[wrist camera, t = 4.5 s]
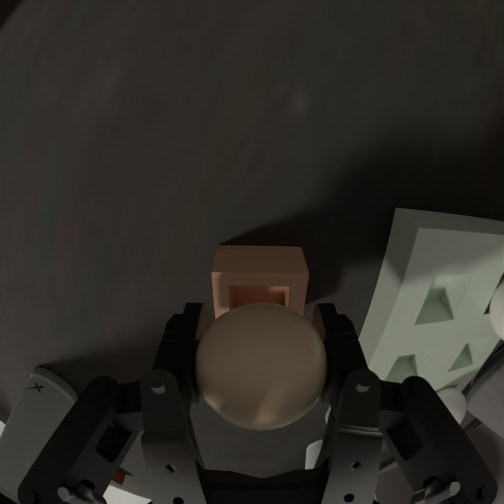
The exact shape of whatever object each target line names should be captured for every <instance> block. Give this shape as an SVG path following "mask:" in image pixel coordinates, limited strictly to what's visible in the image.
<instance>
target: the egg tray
mask: <svg viewBox="0 0 504 504" xmlns="http://www.w3.org/2000/svg"><path fill="white" fill-rule="evenodd" d="M503 278H504V221H498V220H491V219H485V218H478V217H471V216H464V215H456V214H449V213H440V212H432V211H423V210H413V209H403V208H395V213H394V218H393V223H392V227H391V232H390V236H389V241H388V245H387V249H386V253H385V257H384V260H383V264H382V268H381V271H380V275H379V278H378V282H377V285H376V289H375V292H374V295H373V298H372V301H371V305H370V308H369V311H368V314H367V317H366V319H365V322H364V325H363V328H362V331H361V334H360V336H359V339H358V341H359V342H360V345H361V348H362V351H363V353H364V356H365V359H366V362H367V365H368V368H369V370H371V371H373V372H374V373H376V375H377V376H378V377H379V379H381V380H384V381H389V382H397V383H402V382H403V380H404V379H405V378H407V377H409V376H420V377H422V378H424V379H426V380H427V381H428V382H429V384H430V385H431V386H432V388H433V389H434V390H435V391H436V390H440V389H443V388H447V387H453V388H456V389H458V390H459V391H461V392H462V390H463V389H464V388H465V387H466V386H467V384H468V383H469V382H470V381H471V379H472V378H473V377H474V375H475V374H476V373H477V372H478V370H479V369H480V368H481V366H482V365H483V363H484V362H485V361H486V359H487V358H488V356H489V355H490V354H491V352H492V351H493V349H494V348H495V346H496V345H497V343H498V342H499V340H500V337H498V335H497V334H496V333H495V331H494V330H493V327H492V325H491V321H490V315H489V308H490V301H491V298H492V296H493V294H494V292H495V290H496V287H497V285H498V284H499V282H500V281H501V280H502V279H503ZM330 410H331V406H330V407H329V409H328V411H327V413H326V415H325V419H326V425H327V421H328V416H329V412H330Z"/></svg>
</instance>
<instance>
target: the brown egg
mask: <svg viewBox="0 0 504 504" xmlns="http://www.w3.org/2000/svg"><path fill="white" fill-rule="evenodd" d="M327 370H328V360H327V354H326V349H325V346H324V343H323V341H322V339H321V337H320V335H319V333H318V332H317V330H316V329H315V328H314V326H313V325H312V324H311V323H310V322H309V321H308V320H307V319H306V318H305V317H303V316H302V315H301V314H299V313H298V312H296V311H294V310H292V309H290V308H288V307H285V306H283V305H279V304H275V303H267V302H256V303H248V304H244V305H240V306H237V307H235V308H233V309H231V310H229V311H227V312H225V313H223V314H222V315H220V316H219V317H218V318H217V319H216V320H215V321H214V322H212V323H211V325H210V326H209V327H208V328H207V330H206V331H205V332H204V334H203V336H202V337H201V339H200V342H199V344H198V347H197V350H196V354H195V361H194V374H195V380H196V384H197V387H198V389H199V392H200V394H201V396H202V398H203V399H204V401H205V402H206V404H207V405H208V406H209V407H210V408H211V410H212V411H213V412H214V413H215V414H217V415H218V416H219V417H221V418H222V419H223V420H225V421H227V422H229V423H231V424H233V425H235V426H238V427H241V428H245V429H250V430H271V429H276V428H280V427H283V426H286V425H288V424H290V423H292V422H294V421H296V420H298V419H299V418H301V417H302V416H303V415H304V414H306V413H307V412H308V411H309V410H310V409H311V408H312V407H313V405H314V404H315V403H316V402H317V400H318V398H319V397H320V395H321V393H322V391H323V388H324V386H325V382H326V378H327Z"/></svg>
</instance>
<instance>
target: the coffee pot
mask: <svg viewBox="0 0 504 504" xmlns="http://www.w3.org/2000/svg"><path fill="white" fill-rule="evenodd" d="M466 404H467V410H468V411H469V412H470V413H471V414H473V415H474V416H475V417H477V418H478V419H479V420H480V421H482V422H483V423H484V424H486V425H487V426H488V427H490V428H491V429H492V430H493V431H495V432H496V433H497V434H499V435H500V436H501V437H503V438H504V347H503V348H502V349H500V350H499V351H498V352H496V353H495V354H494V355H493V356H492V357H491V358H489V359H488V360H487V361H486V362H485V363H484V364H483V365H482V367H481V368H480V369H479V370H478V372H477V373H476V374H475V375H474V377H473V379H472V381H471V387H470V388H469V391H468V395H467V398H466Z"/></svg>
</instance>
